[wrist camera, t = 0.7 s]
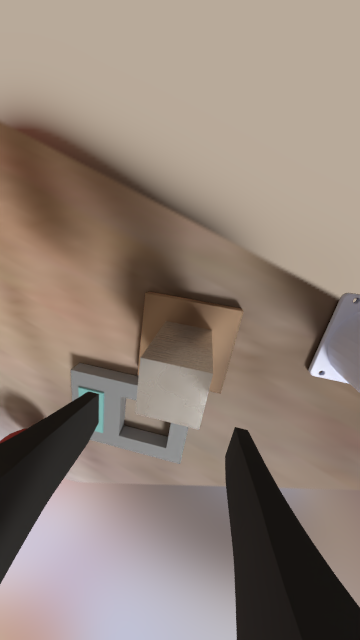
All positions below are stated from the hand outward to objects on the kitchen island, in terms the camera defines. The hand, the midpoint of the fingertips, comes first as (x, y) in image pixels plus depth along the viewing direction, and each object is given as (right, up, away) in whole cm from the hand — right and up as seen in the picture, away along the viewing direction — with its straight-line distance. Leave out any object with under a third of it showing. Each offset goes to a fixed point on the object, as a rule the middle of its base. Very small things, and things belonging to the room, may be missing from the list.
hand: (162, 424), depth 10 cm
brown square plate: (+2, +3, +10) cm, 10 cm away
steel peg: (+1, +3, +9) cm, 9 cm away
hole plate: (-5, -6, +13) cm, 15 cm away
